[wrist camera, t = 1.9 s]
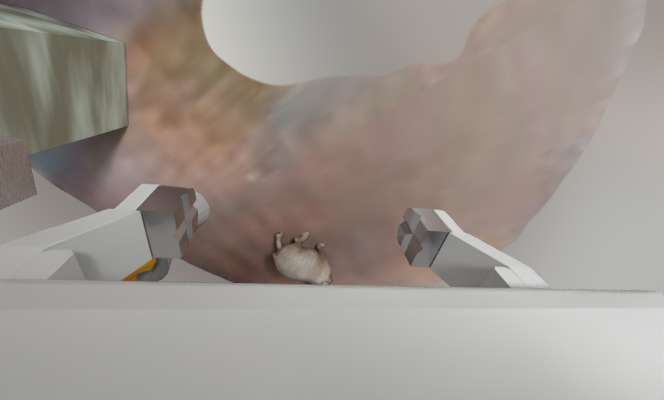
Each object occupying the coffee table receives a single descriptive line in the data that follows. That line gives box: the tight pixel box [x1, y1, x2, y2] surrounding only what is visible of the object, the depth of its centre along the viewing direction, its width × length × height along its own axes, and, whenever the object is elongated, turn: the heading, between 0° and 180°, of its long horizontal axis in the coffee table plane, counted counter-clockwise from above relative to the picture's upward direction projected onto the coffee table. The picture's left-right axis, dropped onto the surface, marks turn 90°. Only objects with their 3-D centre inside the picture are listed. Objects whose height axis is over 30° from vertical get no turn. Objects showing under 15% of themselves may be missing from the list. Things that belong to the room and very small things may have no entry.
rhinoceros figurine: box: [272, 232, 333, 285], centre depth 50 cm, size 8×14×15 cm
